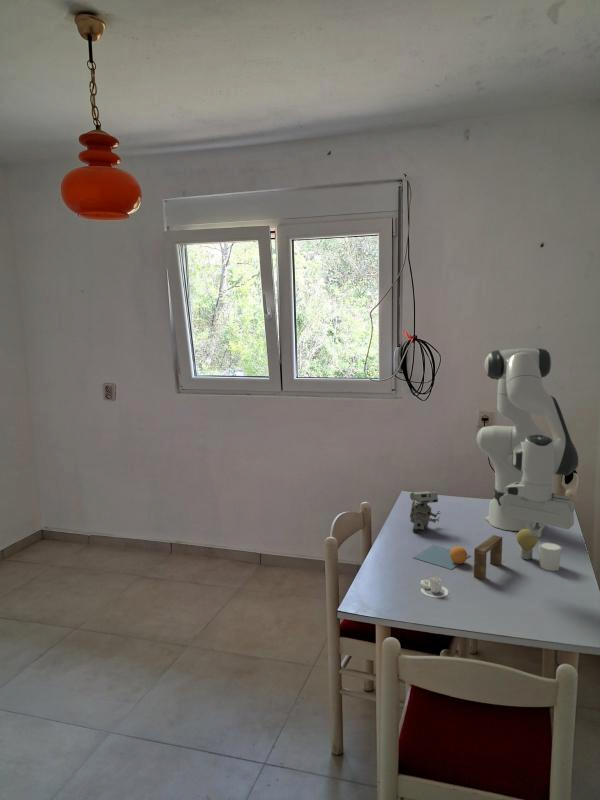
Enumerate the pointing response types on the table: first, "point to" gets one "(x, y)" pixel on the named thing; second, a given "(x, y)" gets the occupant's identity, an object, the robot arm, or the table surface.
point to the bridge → (481, 551)
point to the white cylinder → (549, 556)
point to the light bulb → (526, 543)
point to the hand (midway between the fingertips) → (535, 535)
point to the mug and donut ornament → (433, 587)
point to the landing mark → (437, 557)
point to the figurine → (422, 509)
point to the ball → (458, 555)
